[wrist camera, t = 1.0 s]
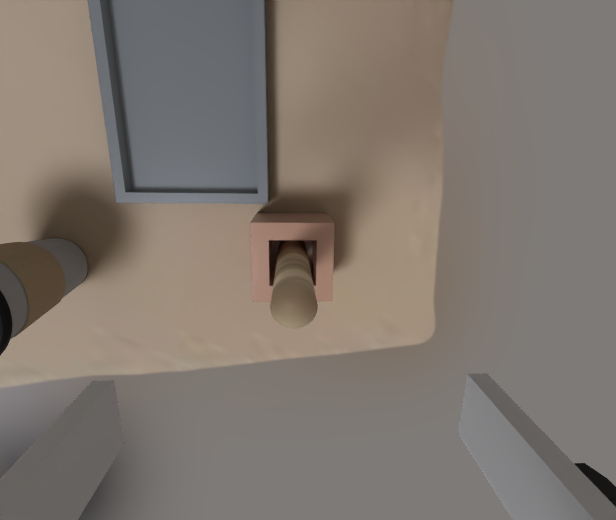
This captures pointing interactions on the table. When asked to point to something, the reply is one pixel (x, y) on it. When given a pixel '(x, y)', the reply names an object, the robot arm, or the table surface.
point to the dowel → (293, 286)
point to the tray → (184, 99)
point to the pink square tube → (292, 226)
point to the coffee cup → (35, 281)
